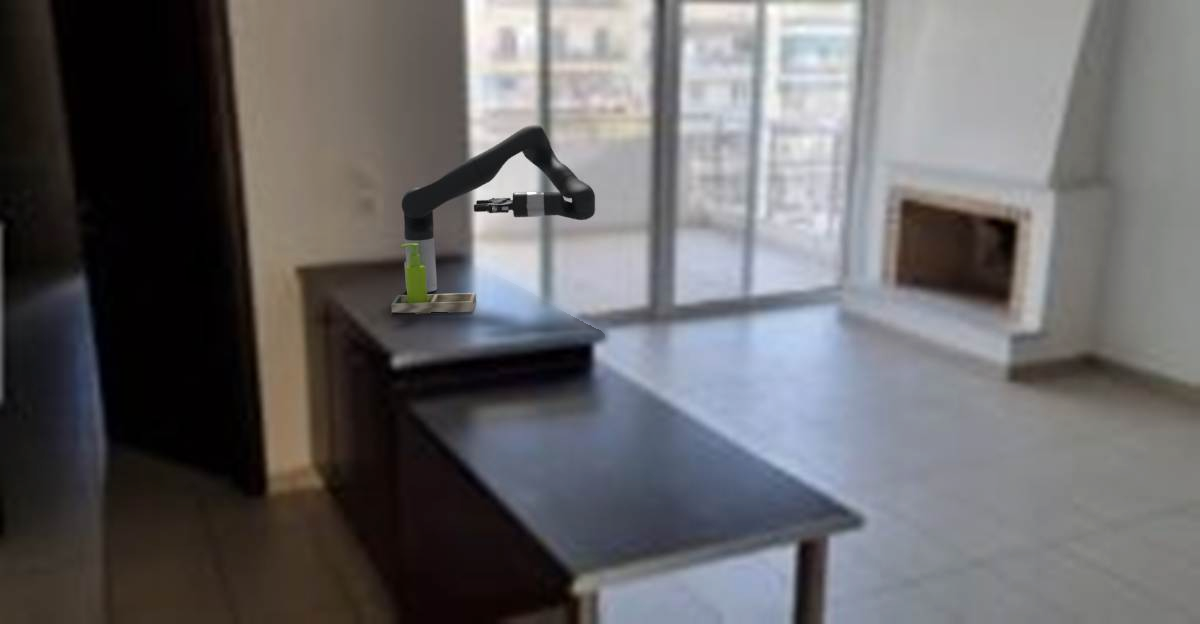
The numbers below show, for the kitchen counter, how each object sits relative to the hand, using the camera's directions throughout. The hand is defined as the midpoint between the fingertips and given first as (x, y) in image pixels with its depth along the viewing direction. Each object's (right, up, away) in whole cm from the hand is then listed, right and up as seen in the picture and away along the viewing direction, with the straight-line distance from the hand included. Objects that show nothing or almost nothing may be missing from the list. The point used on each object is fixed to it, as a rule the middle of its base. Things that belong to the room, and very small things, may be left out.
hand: (475, 206), depth 314 cm
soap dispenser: (-18, -31, +2) cm, 36 cm away
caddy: (-12, -31, +2) cm, 33 cm away
